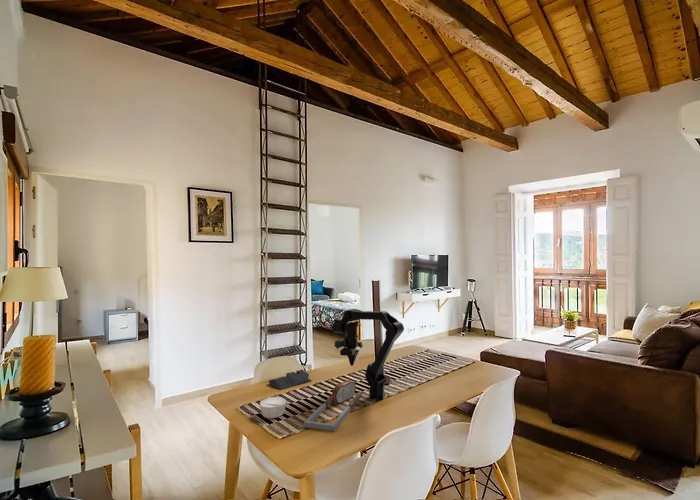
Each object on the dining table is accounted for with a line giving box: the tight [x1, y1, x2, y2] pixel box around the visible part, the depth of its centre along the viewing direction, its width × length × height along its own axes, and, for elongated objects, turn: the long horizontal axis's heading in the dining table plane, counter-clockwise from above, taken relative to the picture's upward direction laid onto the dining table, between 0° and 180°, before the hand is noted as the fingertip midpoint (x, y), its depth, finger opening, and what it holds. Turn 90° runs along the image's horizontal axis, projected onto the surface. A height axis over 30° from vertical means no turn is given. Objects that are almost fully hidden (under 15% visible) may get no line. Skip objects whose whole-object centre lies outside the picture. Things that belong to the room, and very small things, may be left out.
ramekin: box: [259, 396, 287, 419], centre depth 164 cm, size 11×11×5 cm
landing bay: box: [303, 402, 351, 432], centre depth 158 cm, size 13×20×2 cm, turn 162°
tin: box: [331, 379, 357, 404], centre depth 178 cm, size 15×3×8 cm, turn 141°
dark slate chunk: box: [268, 369, 312, 391], centre depth 204 cm, size 15×22×5 cm
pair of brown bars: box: [324, 391, 363, 410], centre depth 177 cm, size 13×16×2 cm
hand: (351, 365), depth 189 cm, fingers closed
